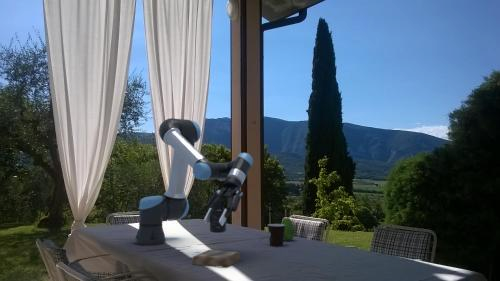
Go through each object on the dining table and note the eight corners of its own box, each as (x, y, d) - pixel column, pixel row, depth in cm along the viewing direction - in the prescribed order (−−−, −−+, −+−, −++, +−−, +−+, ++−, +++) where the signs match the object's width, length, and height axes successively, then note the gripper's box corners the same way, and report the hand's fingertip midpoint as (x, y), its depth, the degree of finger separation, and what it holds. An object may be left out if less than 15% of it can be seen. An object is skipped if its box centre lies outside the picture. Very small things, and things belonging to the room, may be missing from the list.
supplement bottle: (209, 230, 183) (209, 201, 184) (225, 230, 183) (226, 201, 184) (209, 232, 176) (209, 203, 177) (226, 232, 177) (226, 203, 177)
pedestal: (192, 264, 174) (192, 256, 175) (208, 257, 189) (208, 249, 189) (227, 267, 169) (227, 258, 170) (240, 259, 184) (241, 251, 184)
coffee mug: (283, 247, 213) (283, 226, 213) (266, 246, 214) (266, 225, 215) (286, 243, 224) (286, 223, 225) (270, 242, 226) (270, 222, 226)
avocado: (277, 239, 234) (277, 217, 235) (290, 238, 237) (290, 216, 238) (284, 242, 227) (284, 219, 227) (297, 241, 230) (297, 218, 230)
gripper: (256, 187, 189) (237, 230, 174) (218, 186, 199) (197, 226, 184) (250, 175, 185) (230, 218, 170) (212, 175, 195) (189, 215, 180)
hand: (213, 222), depth 177 cm, fingers closed on supplement bottle, 7 cm apart
